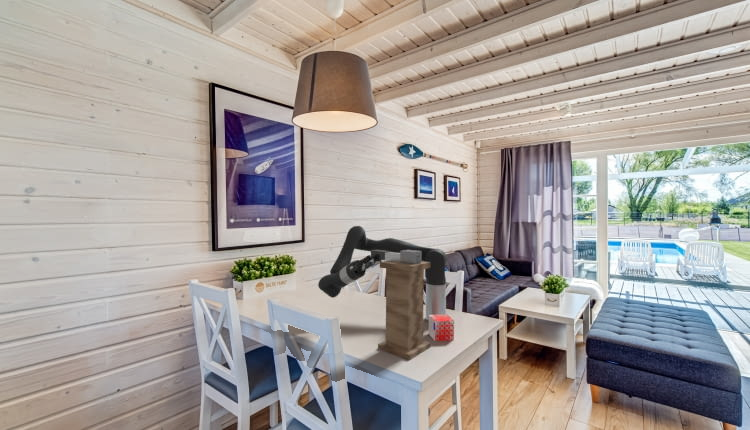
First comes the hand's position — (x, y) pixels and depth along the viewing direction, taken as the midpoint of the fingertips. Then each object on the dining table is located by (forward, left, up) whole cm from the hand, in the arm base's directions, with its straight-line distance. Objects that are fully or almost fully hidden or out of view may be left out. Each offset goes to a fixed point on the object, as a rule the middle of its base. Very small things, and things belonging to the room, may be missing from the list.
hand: (377, 256), depth 128 cm
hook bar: (0, +8, -1) cm, 8 cm away
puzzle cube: (-19, +18, -33) cm, 42 cm away
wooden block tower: (0, +12, -33) cm, 35 cm away
